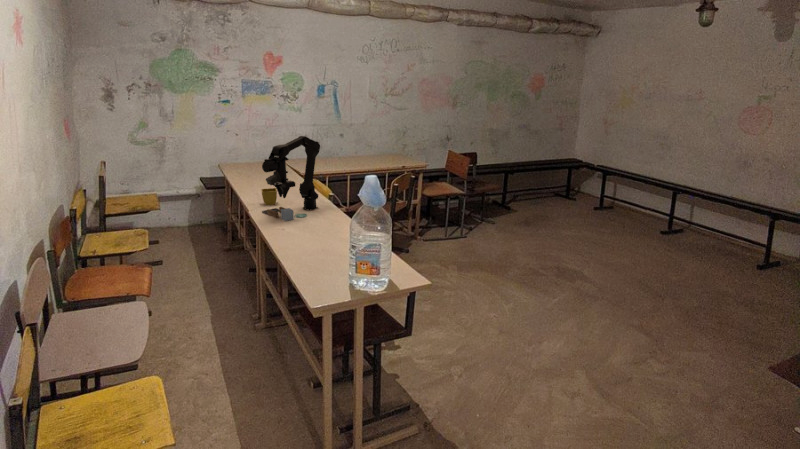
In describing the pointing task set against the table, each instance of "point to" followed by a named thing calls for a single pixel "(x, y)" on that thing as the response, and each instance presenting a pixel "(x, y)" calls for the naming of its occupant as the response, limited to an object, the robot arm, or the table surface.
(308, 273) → the table surface
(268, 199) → the flower pot
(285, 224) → the table surface
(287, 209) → the block
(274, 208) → the tray
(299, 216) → the coaster
